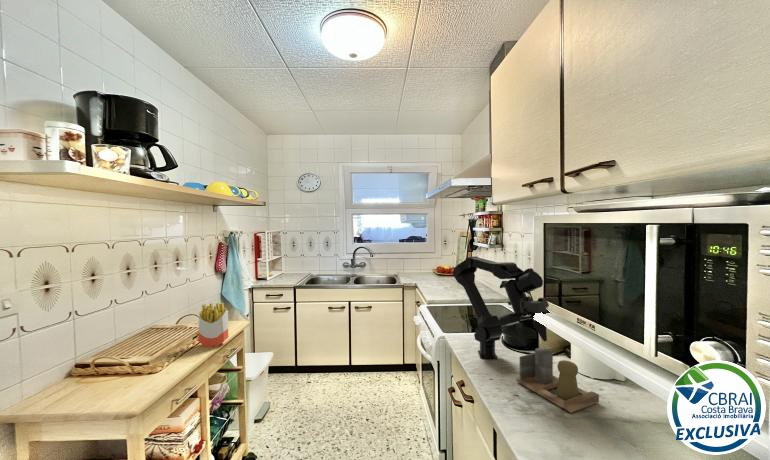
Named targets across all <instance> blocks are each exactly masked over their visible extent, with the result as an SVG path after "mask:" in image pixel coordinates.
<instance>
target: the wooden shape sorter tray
mask: <svg viewBox="0 0 770 460" xmlns="http://www.w3.org/2000/svg"><path fill="white" fill-rule="evenodd" d="M553 353H554V352H553V350H551V349H549V348H546V347H543V346H542V347H537V348H535V350H534V352H533V353H529V354H525V355H521V356H519V376H517V377H515V381H516V382H517V383H519V385H520V384H521V385H523V387H526V388H527V389H529V390H530V391H533V392H534V393H536V394H538V395H539V396H542V397H543V398H545V399H546V400H548V401H550V402H552V403H553V404H555V405H556V406H558V407H560V408H562V409H564V410H565V411H566V412H569V413H571V414H572V413H574V412H577V411H580V410H582V409H584V408H587V407H590V406H592V405H595V404H598V403H600V394H598V393H596V392H595V391H592V390H591V391H586V390H584V389H581V388H579V387H578V392H579V396H576V397H574V398H571V399H568V400H563V399H561V398H559V397H557V396H556V395H555V394H554V393H552V392H550V391H549V390H552V389H555V388H556V389H557V387H558V380H559V377H557V376H554V373H553V371H554V366H553V363H554V358H553V356H554V355H553Z"/></svg>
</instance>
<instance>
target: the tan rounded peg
mask: <svg viewBox="0 0 770 460" xmlns="http://www.w3.org/2000/svg"><path fill="white" fill-rule="evenodd" d="M556 365H557V370H558V372H559V375H558V378H559V380H558V387H556V396H557V397H559V398H561V399H563V400H568V399H571V398H574V397H576V396H579V392H578V388H579V387H578V380H577V375H578V373H579V368H578V366H577V364H576V363H575V362H573V361H570V360H567V359H565V360H563V359H562V360H560V361H558V362H557V364H556Z"/></svg>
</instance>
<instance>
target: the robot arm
mask: <svg viewBox="0 0 770 460" xmlns="http://www.w3.org/2000/svg"><path fill="white" fill-rule="evenodd" d="M478 269H480V270H483V271H486V272H489V273H491V274H492V275H493V276H494V277H496V278H497V279H500V280H502V281H501V283H500V285H499V288H500V289H504V290H505V293H506V295H507V298H508V302H507V305H508V306H511V308H512V310H513V313H508V314H505V315H503V316H500V317H498V316H497V315H493V314H491V313H490V311H489V309H488V307H487V305H486V303H485V301H484V299H483V297H482V295H481V292H480V291H479V288H478V287H477V284H476V282H475V281H476V275H475V273H476V272H477V270H478ZM452 275H453V277H454V279H455V280H456V283H458V284H459V285H460V286H462V287H463V288H464V290H465V293H466V295H467V297H468V299H469V301H470V304H471V306H472V308H473V310H474V313H475V314H476V317H477V328H478V330H477V331H476V332H474V334H473V336H474V337H473V338H474V340H475V341H477V342H479V350H477V353H478V356H479V358H480V359H489V360H498V359H499V358H498V355H497V354H496V341H500V340H501V337H502V334H503V331H504V329H506V330H508V332H510V334H512V335H513V336H514V337H515V338H516V340H517V341H518V342H519V343H520V344H521V345H522V346H523V347H527V346H528V343H527V341H526V338H525V335H524V332H523V329H522V326H523V322H520V321H526V320H532V321H531V323H532V325H533V327H534V328H535V330H536V331H537V333H538V335H539V336H540V338H541V340H542V341H543V342H547V341H548V333H547V326H546V327H545V326H544V325H542V324H540V323H539V322H537V321H536V320H534V319H533V318H534V317H533V316H534V315H535V313H541V312H542V313H543V314H546V313H550V312H551V311H550V312H549V311H548V310H547V309H549V306H550V305H549V302H548V300H547V298H546V297H538V299H537V300H532V297H530V296H527V295H526V293H527V294H528V293H530V292H532V291H535V290H537V289H539V288H542V287H543V284H544V280H543V278H542V276H540V274H539V273H538V272H537V271H535V270H534V268H532V267H531V268H530V267H529V268H526V269H525V270H523V269H522V268H520V267H518V265H517V263H516V262H513V261H512V262H511V261H508V262H507V261H506V262H504V261H503V262H501V261H500V262H499V261H498V262H497V261H494V260H489V259H485V258H482V257H478V256H468V257H466V258H465V259H464V260H463V261H461V262H460V263H458V264H457V265H456V266H455V267H454V269H453V270H452ZM546 308H547V309H546ZM503 327H504V329H503Z"/></svg>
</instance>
